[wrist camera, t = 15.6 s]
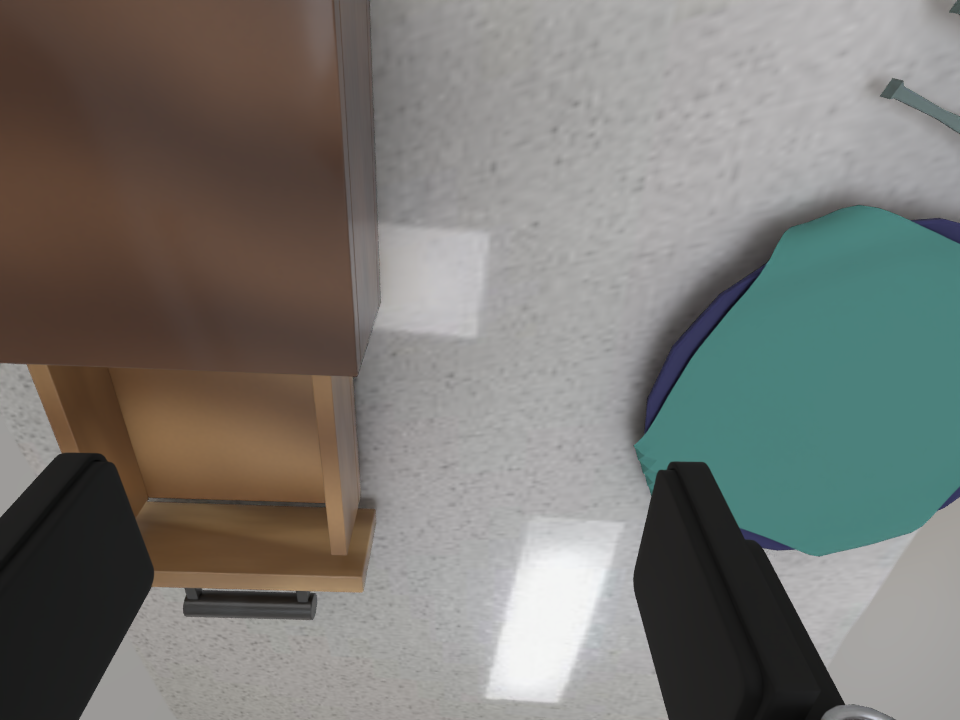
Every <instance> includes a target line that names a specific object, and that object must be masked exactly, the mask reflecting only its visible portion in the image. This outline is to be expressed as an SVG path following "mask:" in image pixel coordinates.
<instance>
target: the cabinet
mask: <svg viewBox="0 0 960 720" xmlns="http://www.w3.org/2000/svg"><path fill="white" fill-rule="evenodd" d="M380 303H381V296H380V269H379V242H378V215H377V189H376V162H375V135H374V108H373V82H372V55H371V28H370V1H369V0H0V363H11V364H37V365H63V366H89V367H114V368H140V369H166V370H192V371H218V372H244V373H270V374H296V375H321V376H347V377H357V376H358V373H359V370H360V367H361V364H362V361H363V358H364V354H365V351H366V348H367V345H368V341H369V338H370V335H371V332H372V329H373V325H374V322H375V319H376V316H377V313H378V309H379V306H380Z"/></svg>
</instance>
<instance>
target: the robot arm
mask: <svg viewBox="0 0 960 720" xmlns="http://www.w3.org/2000/svg"><path fill="white" fill-rule="evenodd" d="M153 580H154V568H153V564H152V562H151V559H150V556H149V553H148V551H147V548H146V545H145V543H144V540H143V537H142V535H141V532H140V529H139V527H138V524H137V521H136V519H135V516H134V513H133V511H132V508H131V505H130V503H129V500H128V497H127V494H126V492H125V489H124V486H123V484H122V481H121V478H120V476H119V473H118V470H117V468H116V466H115V464H113V463H112V462H108V461H107V459H106V458H105V456H103V455H102V454H100V453H62V454H59V455H58V456H57V457H56V458H54V460H53V461H52V462H51V463H50V464H49V465H48V466H47V467H46V468H45V469H44V470H43V472H42V473H41V474H40V475H39V476H38V477H37V478H36V479H35V480H34V481H33V483H32V484H31V485H30V486H29V487H28V488H27V489H26V490H25V491H24V492H23V493H22V494H21V496H20V497H19V498H18V499H17V500H16V501H15V502H14V503H13V504H12V506H11V507H10V508H9V509H8V510H7V511H6V512H5V513H4V514H3V515H2V516H1V517H0V720H79V718H80V716H81V715H82V713H83V711H84V709H85V707H86V706H87V704H88V702H89V700H90V698H91V696H92V695H93V693H94V691H95V689H96V687H97V686H98V684H99V682H100V680H101V678H102V676H103V675H104V673H105V671H106V669H107V667H108V665H109V664H110V662H111V660H112V658H113V656H114V655H115V653H116V651H117V649H118V647H119V645H120V644H121V642H122V640H123V638H124V636H125V635H126V633H127V631H128V629H129V627H130V626H131V624H132V622H133V620H134V618H135V616H136V615H137V613H138V611H139V609H140V607H141V605H142V604H143V602H144V600H145V598H146V596H147V595H148V593H149V591H150V589H151V587H152V584H153ZM633 583H634V592H635V596H636V600H637V603H638V607H639V611H640V615H641V618H642V622H643V626H644V629H645V633H646V637H647V640H648V644H649V648H650V652H651V655H652V659H653V663H654V666H655V670H656V674H657V677H658V681H659V685H660V689H661V692H662V696H663V700H664V703H665V707H666V711H667V714H668V718H669V720H895V719H893V718H892V717H890V716H888V715H886V714H884V713H881V712H879V711H877V710H875V709H873V708H869V707H864V706H859V705H855V704H851V705H845V703H844V701H843V700H842V698H841V696H840V694H839V692H838V690H837V688H836V686H835V684H834V682H833V681H832V679H831V677H830V675H829V673H828V671H827V669H826V667H825V665H824V663H823V662H822V660H821V658H820V656H819V654H818V652H817V650H816V648H815V646H814V644H813V643H812V641H811V639H810V637H809V635H808V633H807V631H806V629H805V627H804V625H803V624H802V622H801V620H800V618H799V616H798V614H797V612H796V610H795V608H794V606H793V604H792V603H791V601H790V599H789V597H788V595H787V593H786V591H785V589H784V587H783V585H782V584H781V582H780V580H779V578H778V576H777V574H776V572H775V570H774V568H773V566H772V565H771V563H770V561H769V559H768V557H767V555H766V553H765V552H764V550H763V549H762V547H761V546H760V544H758V543H757V542H756V541H755V540H746V539H745V538H744V536H743V534H742V532H741V530H740V528H739V526H738V524H737V522H736V520H735V518H734V516H733V514H732V512H731V510H730V508H729V506H728V504H727V502H726V500H725V498H724V496H723V494H722V492H721V490H720V488H719V486H718V484H717V482H716V480H715V478H714V476H713V474H712V472H711V470H710V468H709V467H708V465H707V464H706V463H704V462H680V461H673V462H670V463H669V465H668V467H667V470H659V471H658V472H657V475H656V480H655V484H654V488H653V492H652V497H651V501H650V505H649V510H648V514H647V518H646V523H645V527H644V531H643V535H642V540H641V544H640V548H639V553H638V557H637V561H636V565H635V570H634V577H633Z"/></svg>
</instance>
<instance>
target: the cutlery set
mask: <svg viewBox="0 0 960 720" xmlns="http://www.w3.org/2000/svg"><path fill="white" fill-rule="evenodd" d="M949 12H950V13H957V14H959V15H960V0H957V2H956V3H955V4H954V6H953V7H952V9H951V10H950V11H949ZM880 97H884V98H887V99H893V98H894V99H896V100H898V101H900V102H903V103H905V104H907V105H909V106H911V107H913V108H915V109H917V110H919V111H921V112H923V113H926V114H928V115H930V116H932V117H934V118H936V119H937V120H939V121H940V122H942V123H943V124H945V125H946V126H948V127H949V128H951V129H952V130H954V131H956V132H957V133H959V134H960V116H958V115H956V114H953V113H951V112H948V111H946V110H944V109H942V108H940V107H939V106H937V105H935V104H933V103H932V102H930V101H928V100H927V99H925V98H923V97H922V96H920V95H918V94H916V93H915V92H913V91H911V90H910V89H908V88H906V87H905V86H904V81H902V80H898V79H894V78H892V80H891V81H890V83H889V84H888V85H887V87H886V88H885V90H884V91H883V92H882V94H881V95H880ZM634 447H635V449H636V453H637V457H638V460H639V461H640V463H641V467H642V471H643V473H644V474H645V477H646V482H647V485H648V486H649V489H650V493H651V496H652V492H653V488H654V484H655V480H656V475H657V472H658V471H659V470H667V467H668V465H669V463H670V462H673V461H680V462H704V463H706V464H707V465H708V467H709V468H710V470H711V472H712V474H713V476H714V478H715V480H716V482H717V484H718V486H719V488H720V490H721V492H722V494H723V496H724V498H725V500H726V502H727V504H728V506H729V508H730V510H731V512H732V514H733V516H734V518H735V520H736V522H737V524H738V526H739V528H740V530H741V532H742V534H743V536H744V538H745V539H746V540H755V541H756V542H757V543H758V544H760V546H761V547H762V548H765V549H771V550H777V551H778V550H799V551H801V552H804V553H807V554H809V555H814V556H823V555H827V554H831V553H835V552H840V551H844V550H849V549H854V548H858V547H862V546H866V545H870V544H874V543H878V542H881V541H884V540H888V539H891V538H894V537H898V536H901V535H905V534H908V533H911V532H913V531H915V530H917V529H918V528H920V527H922V526H923V525H924V524H925V523H926V522H927V521H928V520H929V519H930V518H931V517H932V516H933V515H934V514H935V512H936V511H938V510H940V509H943V508H945V507H946V506H948V505H949V504H950V503H952V502H953V501H955V500H956V499H957V498H959V497H960V223H957V222H953V221H949V220H946V219H941V218H934V219H921V220H908V219H906V218H904V217H901V216H899V215H897V214H894V213H891V212H889V211H886V210H883V209H880V208H876V207H869V206H862V205H856V206H852V207H847V208H842V209H839V210H837V211H834V212H832V213H830V214H828V215H825V216H823V217H820V218H818V219H815V220H812V221H810V222H807V223H803V224H800V225H796V226H793V227H791V228H789V229H788V230H787V231H785V232H784V234H783V236H782V237H781V239H780V241H779V243H778V244H777V246H776V248H775V250H774V252H773V254H772V256H771V258H770V260H769V261H768V263H766V264H765V265H763V266H762V267H760V268H759V269H757V270H756V271H754V272H753V273H751V274H750V275H748V276H747V277H745V278H743V279H742V280H740V281H739V282H737V283H736V284H734V285H733V286H731V287H730V288H728V289H727V290H725V291H724V292H722V293H721V294H719V295H718V296H717V298H716V299H715V300H714V301H713V302H712V303H711V304H710V305H709V306H708V307H707V309H706V310H705V311H704V312H703V313H702V314H701V315H700V316H699V317H698V318H697V320H696V321H695V322H694V323H693V324H692V325H691V326H690V327H689V328H688V329H687V330H686V332H685V333H684V334H683V335H682V336H681V337H680V338H679V339H678V340H677V341H676V343H675V344H674V345H673V346H672V348H671V350H670V352H669V354H668V356H667V358H666V361H665V363H664V365H663V367H662V369H661V371H660V373H659V375H658V377H657V379H656V381H655V384H654V386H653V388H652V390H651V392H650V394H649V396H648V398H647V408H646V420H645V431H644V436H643V437H642V438H641V439H640V440H639V441H638V442H637V443H636V444H635V445H634Z"/></svg>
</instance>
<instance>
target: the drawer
mask: <svg viewBox="0 0 960 720" xmlns="http://www.w3.org/2000/svg"><path fill="white" fill-rule="evenodd" d="M27 366H28V369H29V371H30V374H31V377H32V379H33V382H34V384H35V387H36V389H37V392H38V394H39V397H40V399H41V402H42V404H43V407H44V410H45V412H46V415H47V417H48V420H49V422H50V425H51V427H52V430H53V432H54V435H55V437H56V440H57V442H58V445H59V448H60V450H61V453H100V454H102V455H103V456H105V458H106V459H107V461H108V462H112V463H113V464H115V466H116V468H117V470H118V473H119V476H120V478H121V481H122V484H123V486H124V489H125V492H126V494H127V497H128V500H129V503H130V505H131V508H132V511H133V513H134V516H135V519H136V521H137V524H138V527H139V529H140V532H141V535H142V537H143V540H144V543H145V545H146V548H147V551H148V553H149V556H150V559H151V562H152V564H153V568H154V580H153V584H152V587H175V588H185V592H186V597H185V600H184V605H183V613H184V615H185V616H186V617H218V618H257V619H296V620H313V618H314V616H315V613H316V607H317V595H316V593H310V591H323V592H361V593H362V592H363V591H364V585H365V580H366V575H367V569H368V564H369V559H370V554H371V548H372V543H373V538H374V532H375V527H376V510H375V509H368V508H358V506H359V501H360V496H361V488H360V473H359V459H358V444H357V429H356V415H355V400H354V386H353V377H347V376H321V375H296V374H270V373H244V372H218V371H192V370H166V369H140V368H114V367H89V366H63V365H37V364H27ZM148 497H150V498H181V499H213V500H244V501H276V502H307V503H326V507H304V506H273V505H241V504H209V503H177V502H146V501H147V500H148ZM202 588H212V589H249V590H286V591H296V593H293V592H255V591H218V590H202Z"/></svg>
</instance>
